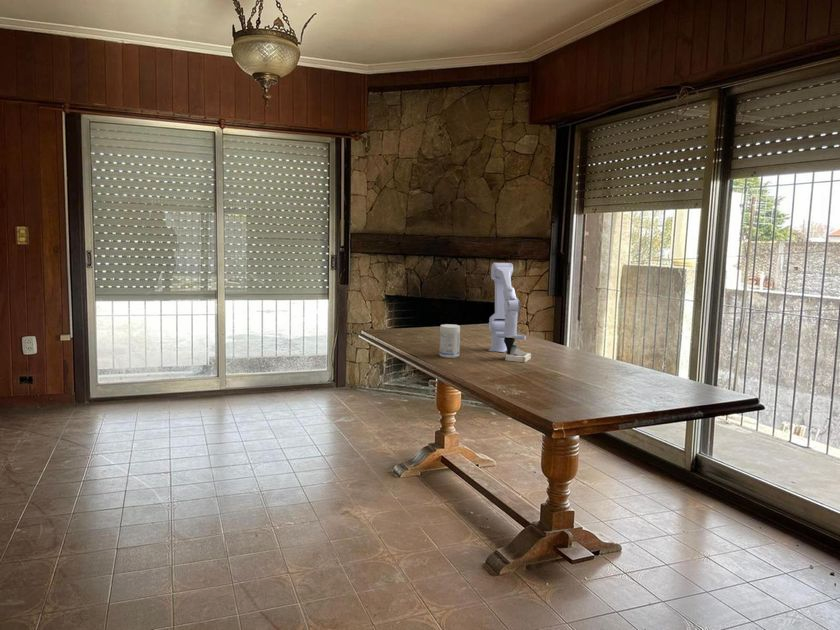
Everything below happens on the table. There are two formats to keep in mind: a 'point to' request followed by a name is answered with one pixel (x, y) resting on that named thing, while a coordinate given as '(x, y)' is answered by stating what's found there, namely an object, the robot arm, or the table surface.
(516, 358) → the bay
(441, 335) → the supplement tub
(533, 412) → the table surface
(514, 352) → the white box with knobs
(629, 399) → the table surface
